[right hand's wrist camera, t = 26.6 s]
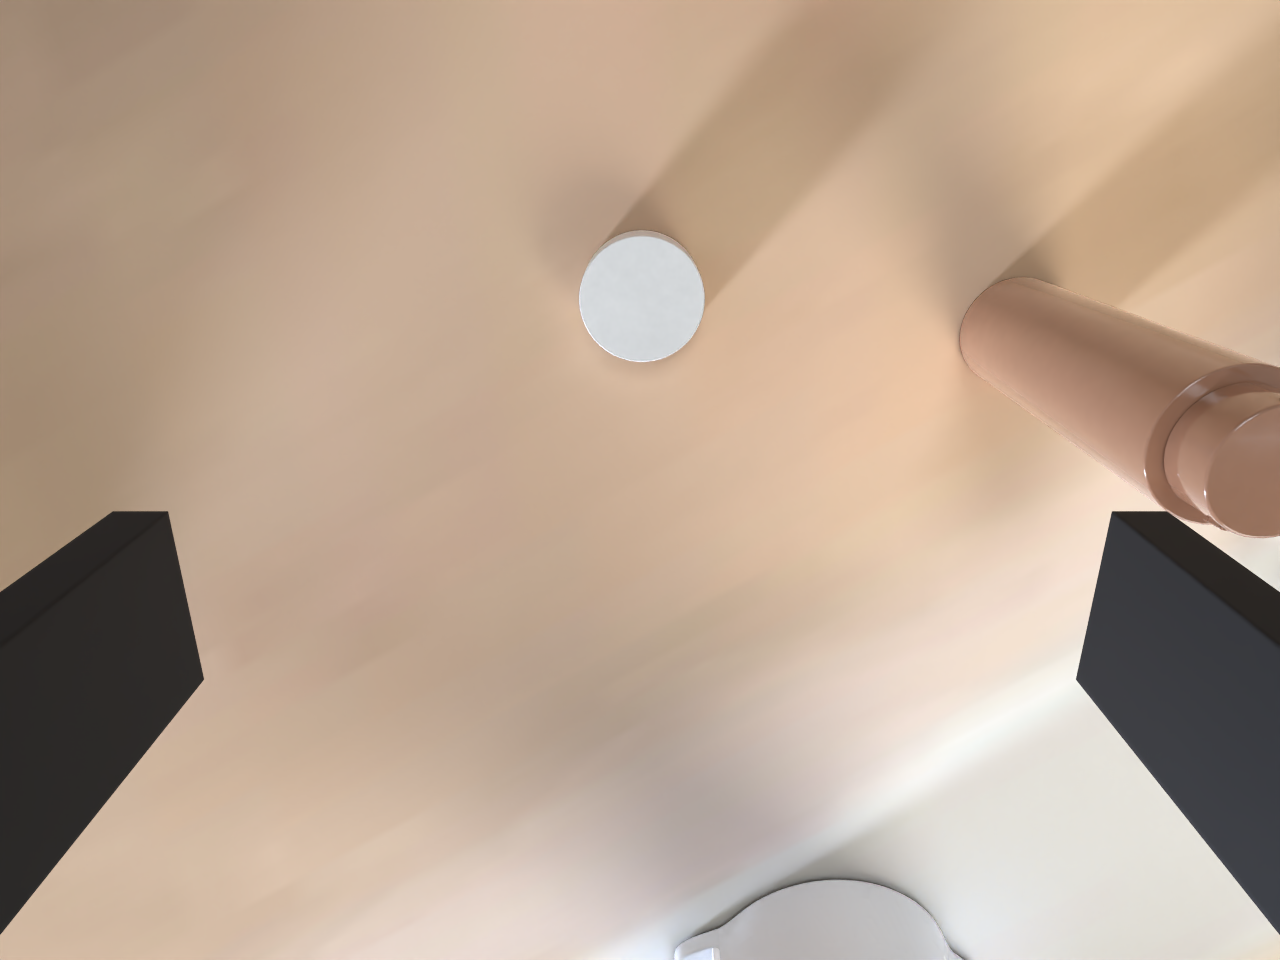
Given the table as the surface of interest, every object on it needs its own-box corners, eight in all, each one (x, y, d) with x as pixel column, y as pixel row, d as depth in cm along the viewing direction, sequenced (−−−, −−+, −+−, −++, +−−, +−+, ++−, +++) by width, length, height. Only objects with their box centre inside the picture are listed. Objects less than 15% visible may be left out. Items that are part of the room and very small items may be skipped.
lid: (580, 230, 38) (576, 236, 36) (702, 229, 38) (705, 235, 36) (584, 350, 40) (581, 362, 38) (700, 349, 40) (703, 361, 38)
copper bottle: (1061, 382, 40) (1349, 553, 24) (954, 386, 40) (1169, 559, 24) (1076, 274, 39) (1399, 379, 22) (964, 278, 39) (1204, 386, 22)
